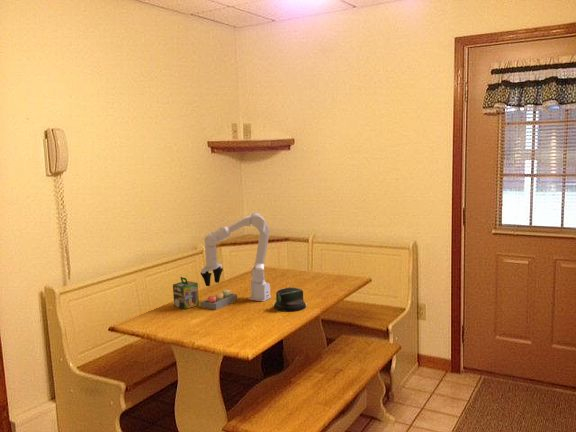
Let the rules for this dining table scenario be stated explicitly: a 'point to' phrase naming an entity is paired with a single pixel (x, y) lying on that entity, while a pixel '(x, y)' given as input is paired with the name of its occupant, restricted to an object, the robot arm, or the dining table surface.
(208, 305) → the grey compartment tray
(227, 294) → the sage button
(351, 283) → the dining table surface
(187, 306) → the chalk box
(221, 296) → the ochre button
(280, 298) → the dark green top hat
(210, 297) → the red button
